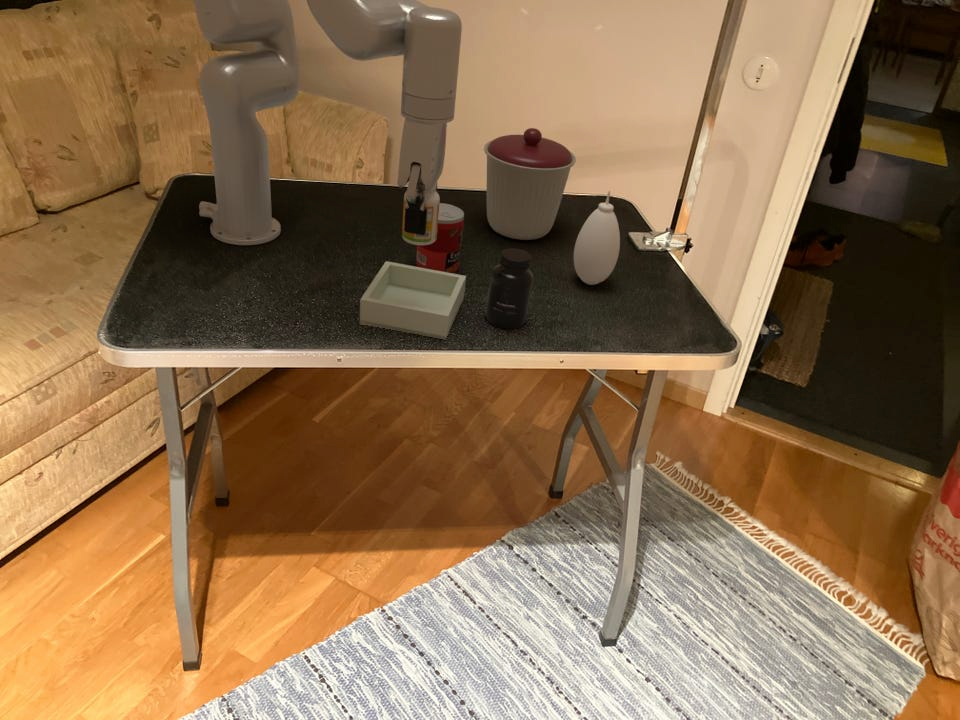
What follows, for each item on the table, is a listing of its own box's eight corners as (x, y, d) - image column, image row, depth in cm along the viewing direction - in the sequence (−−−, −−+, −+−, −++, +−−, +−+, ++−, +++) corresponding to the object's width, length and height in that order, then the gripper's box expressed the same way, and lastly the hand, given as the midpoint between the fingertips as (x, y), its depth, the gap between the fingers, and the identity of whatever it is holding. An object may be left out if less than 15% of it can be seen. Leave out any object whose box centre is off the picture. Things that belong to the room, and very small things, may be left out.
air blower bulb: (561, 274, 141) (579, 182, 131) (598, 271, 143) (618, 181, 133) (580, 294, 135) (600, 200, 125) (618, 290, 137) (640, 198, 127)
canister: (535, 257, 145) (553, 151, 133) (458, 229, 152) (468, 126, 140) (576, 230, 158) (595, 131, 147) (503, 205, 165) (516, 109, 154)
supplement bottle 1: (417, 228, 119) (421, 169, 114) (443, 239, 117) (448, 179, 111) (394, 237, 115) (397, 177, 110) (421, 249, 113) (425, 188, 108)
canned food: (453, 280, 134) (459, 223, 128) (410, 271, 135) (414, 215, 129) (462, 262, 140) (468, 207, 134) (421, 254, 141) (425, 199, 135)
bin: (359, 324, 118) (360, 299, 116) (384, 284, 130) (385, 261, 127) (445, 340, 117) (448, 316, 114) (463, 299, 128) (466, 276, 126)
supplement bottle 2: (495, 332, 121) (504, 266, 114) (478, 311, 126) (486, 246, 119) (533, 327, 123) (544, 262, 117) (515, 306, 128) (525, 243, 122)
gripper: (417, 87, 112) (410, 201, 122) (384, 117, 98) (380, 243, 108) (466, 95, 111) (455, 208, 121) (440, 126, 97) (430, 252, 107)
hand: (420, 223), depth 115 cm, fingers closed on supplement bottle 1, 5 cm apart
